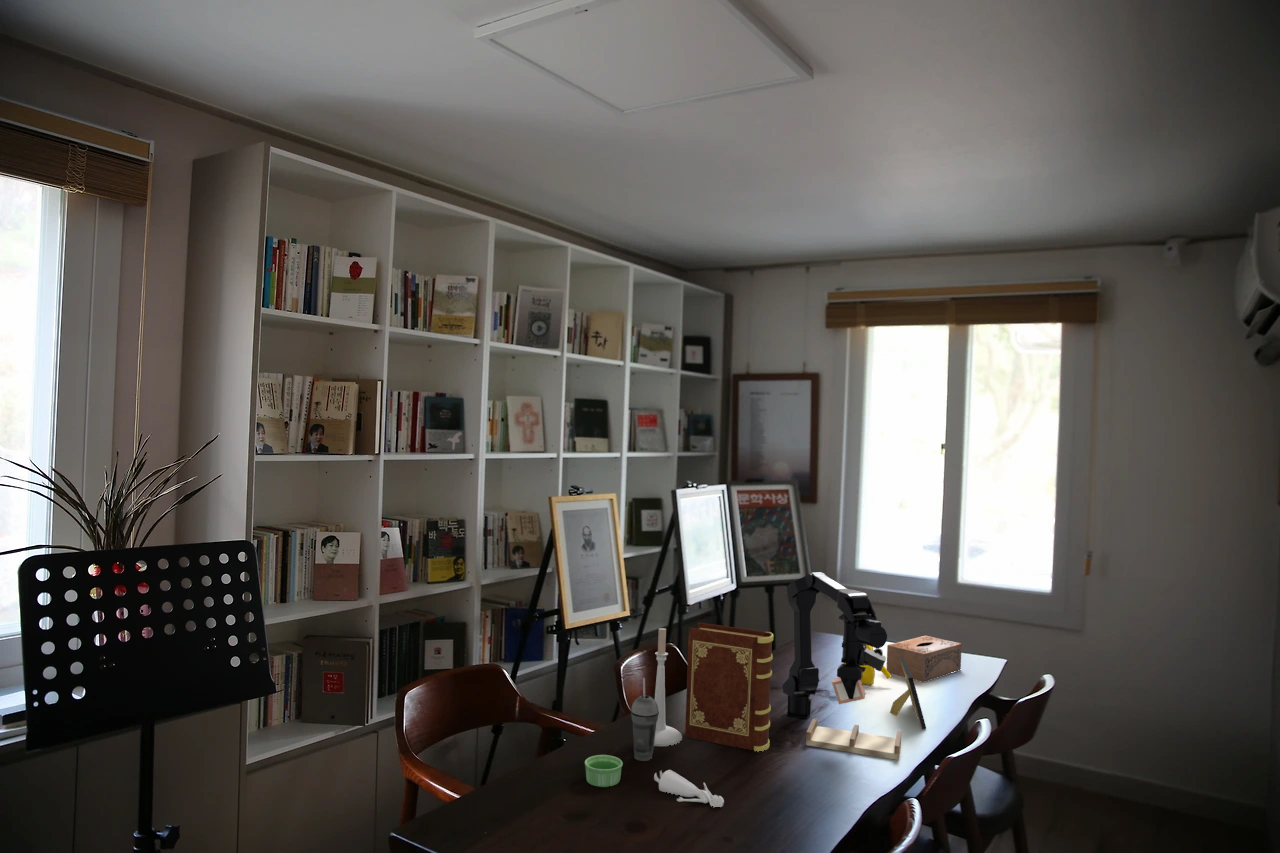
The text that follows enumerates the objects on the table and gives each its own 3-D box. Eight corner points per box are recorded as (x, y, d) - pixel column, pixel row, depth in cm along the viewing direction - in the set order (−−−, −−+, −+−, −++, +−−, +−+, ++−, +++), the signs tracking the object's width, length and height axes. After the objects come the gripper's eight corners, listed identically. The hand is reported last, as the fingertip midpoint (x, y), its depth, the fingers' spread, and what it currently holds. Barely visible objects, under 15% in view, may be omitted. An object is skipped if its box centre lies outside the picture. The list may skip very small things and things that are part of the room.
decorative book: (772, 743, 226) (776, 632, 227) (764, 753, 219) (768, 638, 219) (695, 728, 236) (698, 621, 236) (684, 737, 229) (688, 627, 229)
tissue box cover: (923, 683, 289) (924, 654, 289) (886, 672, 300) (887, 644, 300) (960, 671, 306) (961, 643, 306) (924, 661, 317) (925, 635, 317)
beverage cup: (637, 764, 209) (639, 684, 209) (624, 754, 215) (626, 676, 215) (662, 760, 212) (665, 681, 212) (649, 750, 218) (651, 673, 219)
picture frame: (926, 729, 241) (922, 677, 242) (894, 729, 243) (889, 678, 244) (916, 704, 264) (912, 656, 264) (887, 705, 266) (883, 657, 266)
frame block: (838, 704, 227) (831, 682, 228) (840, 700, 231) (833, 678, 232) (864, 698, 225) (856, 676, 226) (865, 694, 229) (858, 673, 230)
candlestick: (666, 750, 219) (671, 635, 219) (625, 739, 226) (629, 627, 226) (690, 735, 230) (694, 626, 230) (650, 725, 237) (654, 619, 237)
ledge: (806, 745, 226) (806, 732, 226) (812, 730, 238) (813, 718, 238) (898, 760, 218) (899, 746, 218) (901, 744, 229) (901, 731, 229)
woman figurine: (672, 759, 202) (737, 785, 191) (670, 777, 202) (735, 804, 191) (643, 774, 192) (710, 803, 182) (641, 793, 193) (708, 823, 182)
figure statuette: (892, 685, 284) (895, 620, 285) (885, 690, 278) (888, 624, 278) (842, 675, 294) (844, 612, 294) (834, 680, 288) (836, 616, 288)
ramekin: (585, 771, 204) (586, 753, 204) (622, 773, 203) (623, 755, 203) (582, 787, 195) (582, 768, 195) (620, 789, 194) (621, 770, 194)
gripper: (881, 650, 217) (879, 711, 216) (887, 635, 234) (885, 691, 234) (837, 645, 221) (835, 704, 220) (846, 630, 238) (844, 685, 238)
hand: (851, 696), depth 228 cm, fingers closed on frame block, 4 cm apart
